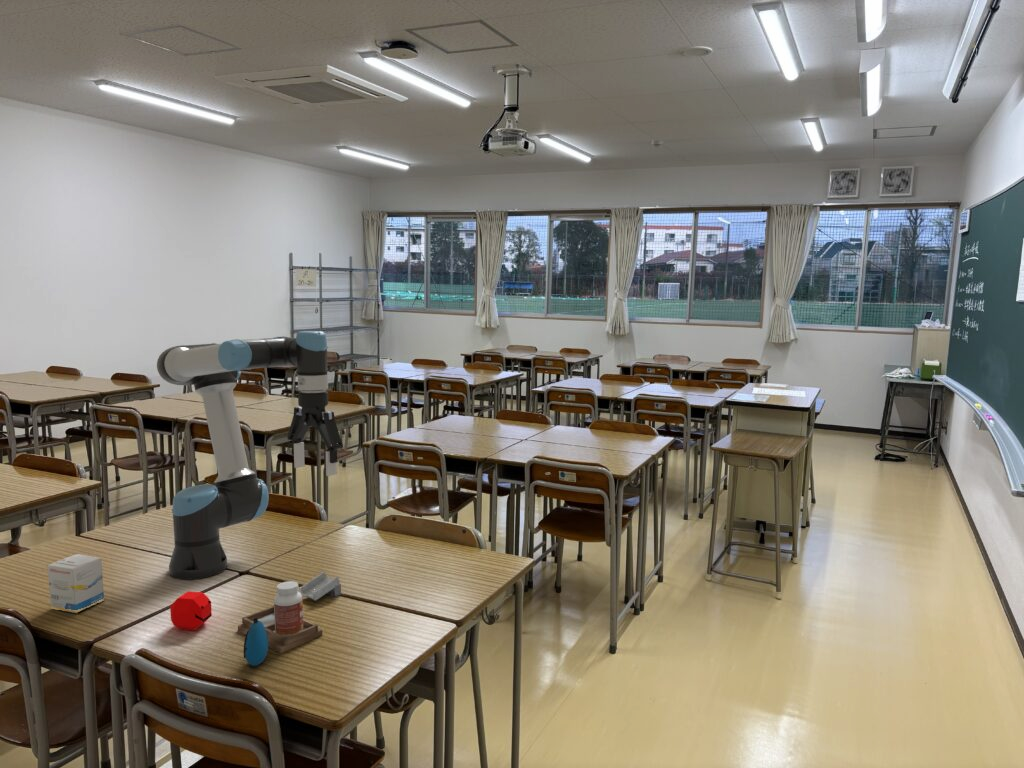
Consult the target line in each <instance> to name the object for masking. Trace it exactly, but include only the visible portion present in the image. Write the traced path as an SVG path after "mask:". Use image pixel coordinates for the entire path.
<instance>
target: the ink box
mask: <svg viewBox="0 0 1024 768" xmlns="http://www.w3.org/2000/svg"><path fill="white" fill-rule="evenodd" d="M102 562H103V561H102V558H101V557H96V556H91V555H87V554H86V555H85V554H81V553H76V554H73V555H70V556H68V557H65V558H62V559H59V560H57V561H55V562H52V563H50V564H47V577H48V586H49V587H48V589H49V600H50V606H51V605H52V606H55V607H60V608H65V609H71V610H78V609H81V608H84V607H87V606H89V605H91V604H93V603H95V602H97V601H99V600H101V599H103V598H104V599H105V596H104V595H105V593H104V579H103V563H102Z"/></svg>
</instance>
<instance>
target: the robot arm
mask: <svg viewBox="0 0 1024 768" xmlns="http://www.w3.org/2000/svg"><path fill="white" fill-rule="evenodd" d="M328 347H329V346H328V341H327V335H326V332H324V331H322V330H321V331H320V330H303V331H302V330H301V331H300V330H299V331H297V333H296V335H295V337H289V336H275V337H271V338H269V337H268V338H254V339H238V338H237V339H231V340H225V341H223V342H222V343H216V342H215V343H214V342H213V343H203V344H202V343H201V344H189V345H184V344H181V345H175V346H172V347H169V348H167V349H165V350H164V351H162V352H161V353H160V354H159V356H158V358H157V361H156V369H157V372H158V374H159V377H161V378H162V380H164V381H166V382H167V383H169V384H172V385H175V386H192V385H193V386H194V392H195V393H196V394H197V395H200V397H202V401H203V407H204V412H205V417H206V422H207V426H208V431H209V437H210V440H211V445H212V450H213V455H214V460H215V465H216V469H217V474H218V475H217V477H216V479H215V480H214V482H213V483H214V484H211V483H203V484H200V485H199V484H196V485H193V486H189V487H188V486H187V487H186V488H184V489H182V490H180V491H178V492H177V493H175V495H174V496H173V499H172V509H171V513H172V521H173V524H172V525H173V539H174V540H173V541H174V548H173V550H172V553H171V554H172V555H171V557H170V561H169V564H168V573H169V576H170V575H171V576H172V578H173V577H174V579H177V578H178V579H179V580H197V579H198V580H199V579H203V578H209V577H213V576H215V575H218V574H220V573H222V572H224V571H225V570H226V569H227V568H228V557H227V556H226V553H225V550H224V548H223V546H222V543H221V541H220V529H223V528H226V527H230V526H233V525H239V524H241V523H246V522H251V521H252V520H254V519H258V518H260V517H262V516H263V515H264V514H265V512H266V510H267V508H268V506H269V499H270V498H269V496H270V495H269V491H268V490H269V489H268V486H267V485H266V483H265V481H264V480H263V479H261V478H258V477H257V475H256V472H255V471H253V470H252V469H250V468H249V467H250V466H249V463H248V462H249V461H248V458H247V454H246V453H247V452H246V449H245V443H244V439H243V434H242V430H241V426H240V421H239V420H240V419H239V416H238V411H237V407H236V402H235V396H234V391H233V390H234V389H235V388H236V386H237V380H238V379H239V378H240V377H241V374H242V373H241V371H244V370H252V369H253V370H254V369H263V368H264V369H266V368H276V367H296V368H297V369H296V370H297V389H298V390H299V392H298V393H297V401H298V402H297V403H298V404H297V405H298V406H295V407H294V408H293V415H292V416H293V417H292V420H291V423H290V427H289V430H288V433H287V440H290V442H291V443H292V446H293V450H292V451H293V462H294V464H293V465H294V466H293V467H294V469H297V468H303V467H305V466H306V465H305V462H306V461H305V442H304V437H305V436H306V434H307V432H308V431H309V428H310V427H312V428H315V430H316V431H318V433H319V434H320V436H321V439H322V440H323V442H324V444H325V446H326V450H325V470H326V471H325V473H326V475H325V476H327V477H331V476H334V475H335V476H336V475H337V473H338V472H337V471H338V468H337V462H338V450H339V449H342V448H344V444H343V442H342V438H341V436H340V432H339V429H338V427H337V423H336V419H335V412H334V410H331V411H327V410H326V407H327V406H328V405H329V392H328V389H329V377H328V376H329V374H328ZM171 576H170V577H171Z"/></svg>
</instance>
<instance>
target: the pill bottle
mask: <svg viewBox="0 0 1024 768" xmlns="http://www.w3.org/2000/svg"><path fill="white" fill-rule="evenodd" d="M299 588H300V586H299V583H298V582H297V581H291V580H290V581H289V580H288V581H283V582H281V583H278V584H277V586H276V592H277V594H276V595H275V596H274V599H273V606H274V616H275V632H276V633H277V634H279V635H281V636H283V637H288V636H291V635H293V634H295V633H298V632H300V631H302V630H303V619H304V607H303V606H304V605H303V595H301V593H300V591H299V590H300V589H299Z"/></svg>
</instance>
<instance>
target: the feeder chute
mask: <svg viewBox="0 0 1024 768" xmlns="http://www.w3.org/2000/svg"><path fill="white" fill-rule="evenodd" d="M298 590H299V592H300V593H301V595H302V597H306V598H308V599H311V600H313V601H317V600H319V599H320V598H322V597H324V595H329V596H332V597H333V598H336V597H339V596H341V595H342V584H341V583H340V578H339V576H335V577H333V578H332V577H329V576H327V573H326V571H322V572H321V573H319V574H317V575H316V576H315V577H313V578H312V579H310V580H309V581H307V582H306V583H304V584H303V585H302V586H299V589H298Z"/></svg>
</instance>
